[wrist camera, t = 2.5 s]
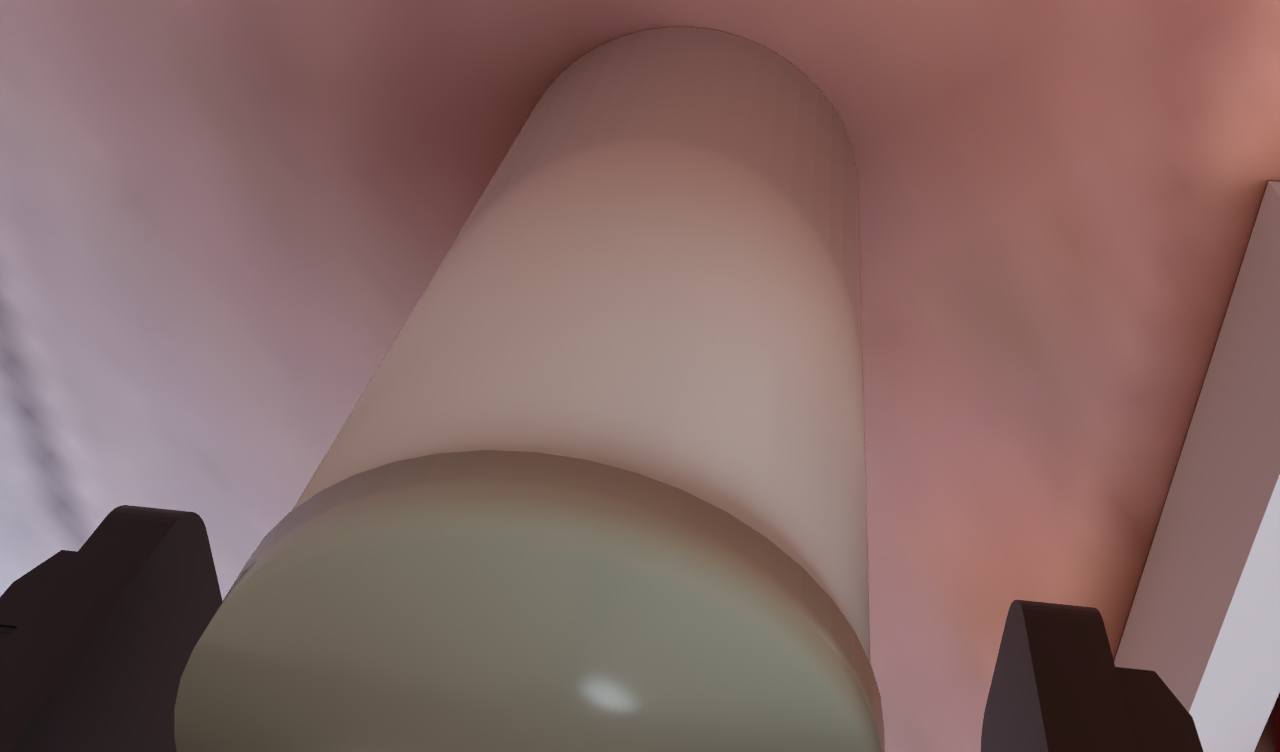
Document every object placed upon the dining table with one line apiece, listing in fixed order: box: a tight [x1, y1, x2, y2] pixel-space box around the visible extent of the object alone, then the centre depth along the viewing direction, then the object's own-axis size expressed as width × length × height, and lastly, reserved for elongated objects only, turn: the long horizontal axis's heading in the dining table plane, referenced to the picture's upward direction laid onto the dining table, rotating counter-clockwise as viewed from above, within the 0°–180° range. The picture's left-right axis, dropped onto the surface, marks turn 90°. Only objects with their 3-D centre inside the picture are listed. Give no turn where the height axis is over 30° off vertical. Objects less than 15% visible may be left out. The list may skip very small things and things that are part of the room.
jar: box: [174, 27, 885, 752], centre depth 15 cm, size 6×6×12 cm
